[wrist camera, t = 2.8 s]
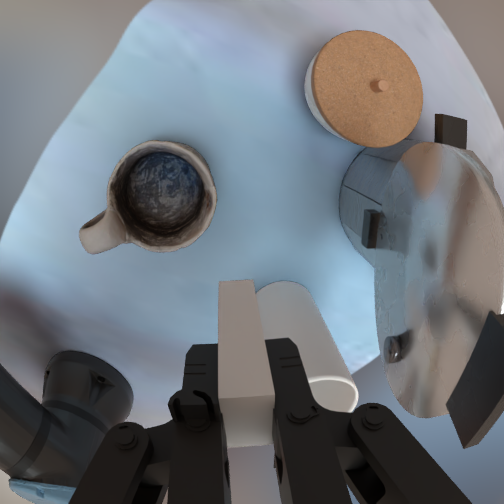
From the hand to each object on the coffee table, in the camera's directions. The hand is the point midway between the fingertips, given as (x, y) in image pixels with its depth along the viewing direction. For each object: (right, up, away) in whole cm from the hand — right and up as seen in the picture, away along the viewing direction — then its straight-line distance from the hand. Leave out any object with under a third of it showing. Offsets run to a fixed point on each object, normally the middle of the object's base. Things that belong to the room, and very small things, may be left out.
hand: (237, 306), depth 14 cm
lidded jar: (+10, +19, +15) cm, 26 cm away
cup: (+4, -5, +24) cm, 25 cm away
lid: (+11, 0, +1) cm, 11 cm away
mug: (-9, +9, +17) cm, 21 cm away
